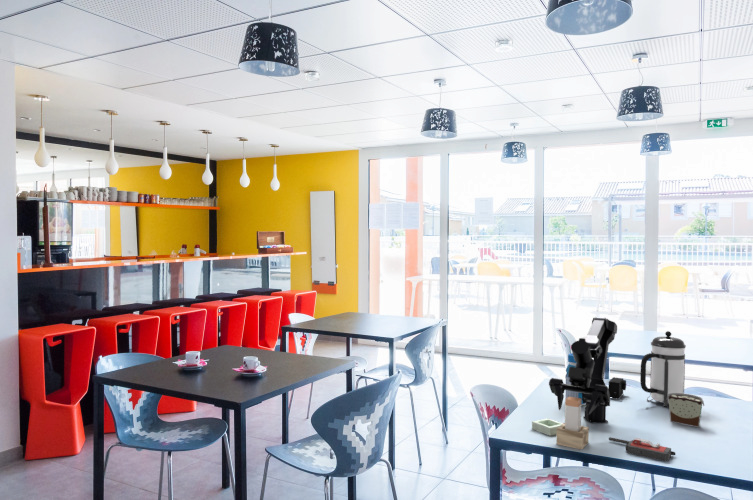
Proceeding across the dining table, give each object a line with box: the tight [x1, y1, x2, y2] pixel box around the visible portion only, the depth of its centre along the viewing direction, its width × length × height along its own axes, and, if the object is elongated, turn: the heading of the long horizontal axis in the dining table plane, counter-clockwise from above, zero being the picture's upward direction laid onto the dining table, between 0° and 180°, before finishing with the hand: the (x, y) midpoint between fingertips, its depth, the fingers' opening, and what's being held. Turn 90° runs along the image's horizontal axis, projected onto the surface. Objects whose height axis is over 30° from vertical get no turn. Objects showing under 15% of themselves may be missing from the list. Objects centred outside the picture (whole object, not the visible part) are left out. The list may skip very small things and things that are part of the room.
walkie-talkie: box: [608, 436, 676, 462], centre depth 178 cm, size 9×4×20 cm
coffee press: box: [640, 330, 687, 408], centre depth 235 cm, size 17×16×30 cm
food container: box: [667, 393, 705, 428], centre depth 210 cm, size 12×6×10 cm, turn 47°
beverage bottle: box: [565, 352, 586, 406], centre depth 233 cm, size 8×8×20 cm
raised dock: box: [555, 422, 590, 450], centre depth 184 cm, size 8×8×5 cm
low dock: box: [531, 418, 564, 436], centre depth 197 cm, size 8×8×3 cm
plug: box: [564, 397, 582, 432], centre depth 184 cm, size 4×4×11 cm
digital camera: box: [608, 376, 627, 400], centre depth 247 cm, size 10×5×7 cm, turn 147°
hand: (573, 411), depth 184 cm, fingers open, 9 cm apart
